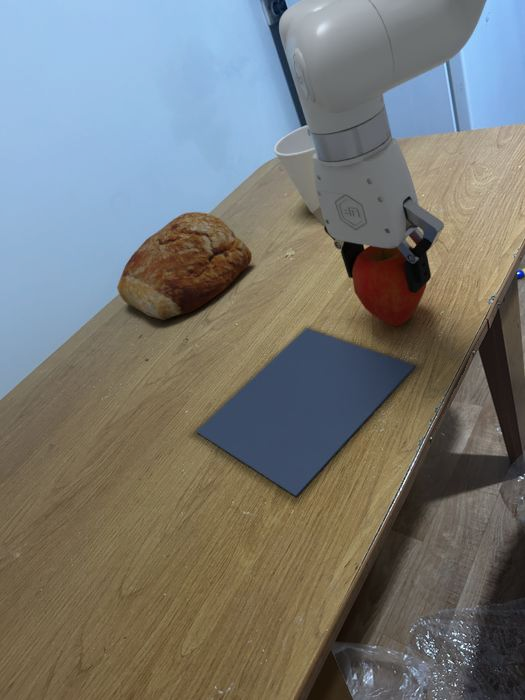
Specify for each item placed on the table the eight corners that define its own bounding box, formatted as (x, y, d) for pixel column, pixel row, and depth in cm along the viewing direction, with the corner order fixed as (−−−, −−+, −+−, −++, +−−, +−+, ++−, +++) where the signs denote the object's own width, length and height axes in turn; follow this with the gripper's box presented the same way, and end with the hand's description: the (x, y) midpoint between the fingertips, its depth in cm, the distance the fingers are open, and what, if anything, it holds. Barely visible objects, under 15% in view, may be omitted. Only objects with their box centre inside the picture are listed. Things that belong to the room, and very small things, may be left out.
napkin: (415, 367, 64) (415, 365, 64) (296, 497, 56) (295, 495, 56) (307, 329, 76) (306, 328, 76) (197, 433, 68) (196, 431, 68)
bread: (259, 265, 94) (237, 211, 88) (178, 335, 86) (147, 280, 80) (187, 248, 108) (163, 201, 102) (112, 307, 101) (81, 259, 95)
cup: (287, 226, 101) (263, 160, 93) (308, 191, 108) (287, 128, 101) (351, 218, 95) (331, 146, 87) (369, 182, 102) (351, 114, 95)
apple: (433, 341, 66) (415, 263, 60) (360, 347, 70) (336, 274, 63) (438, 295, 72) (422, 220, 66) (371, 303, 76) (350, 232, 69)
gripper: (267, 151, 62) (314, 283, 72) (400, 155, 49) (435, 314, 59) (312, 118, 64) (351, 249, 75) (449, 114, 52) (474, 272, 62)
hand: (388, 277), depth 67 cm, fingers closed on apple, 8 cm apart
